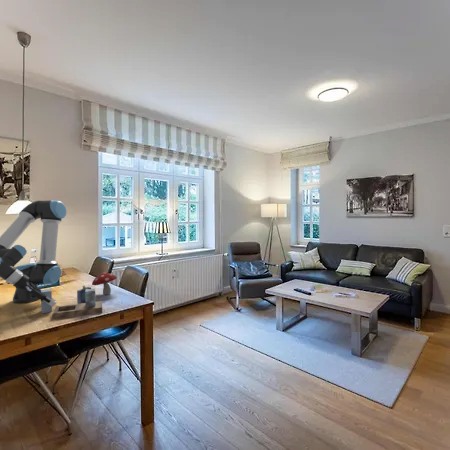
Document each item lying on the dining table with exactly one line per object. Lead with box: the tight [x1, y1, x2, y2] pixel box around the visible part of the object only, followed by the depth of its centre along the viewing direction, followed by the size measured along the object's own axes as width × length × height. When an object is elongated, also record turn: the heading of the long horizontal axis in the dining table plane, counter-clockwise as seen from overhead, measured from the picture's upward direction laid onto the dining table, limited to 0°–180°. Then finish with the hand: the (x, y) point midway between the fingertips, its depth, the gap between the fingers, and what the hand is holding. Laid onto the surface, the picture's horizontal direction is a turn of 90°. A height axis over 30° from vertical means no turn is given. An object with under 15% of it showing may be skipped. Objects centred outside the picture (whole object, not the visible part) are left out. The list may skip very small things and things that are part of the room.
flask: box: [76, 285, 92, 304], centre depth 176 cm, size 9×3×11 cm, turn 151°
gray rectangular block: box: [40, 288, 53, 314], centre depth 161 cm, size 5×5×12 cm
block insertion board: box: [52, 288, 103, 320], centre depth 160 cm, size 24×12×12 cm, turn 114°
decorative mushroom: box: [91, 272, 118, 295], centre depth 194 cm, size 16×16×15 cm
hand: (54, 303), depth 163 cm, fingers closed on gray rectangular block, 5 cm apart
